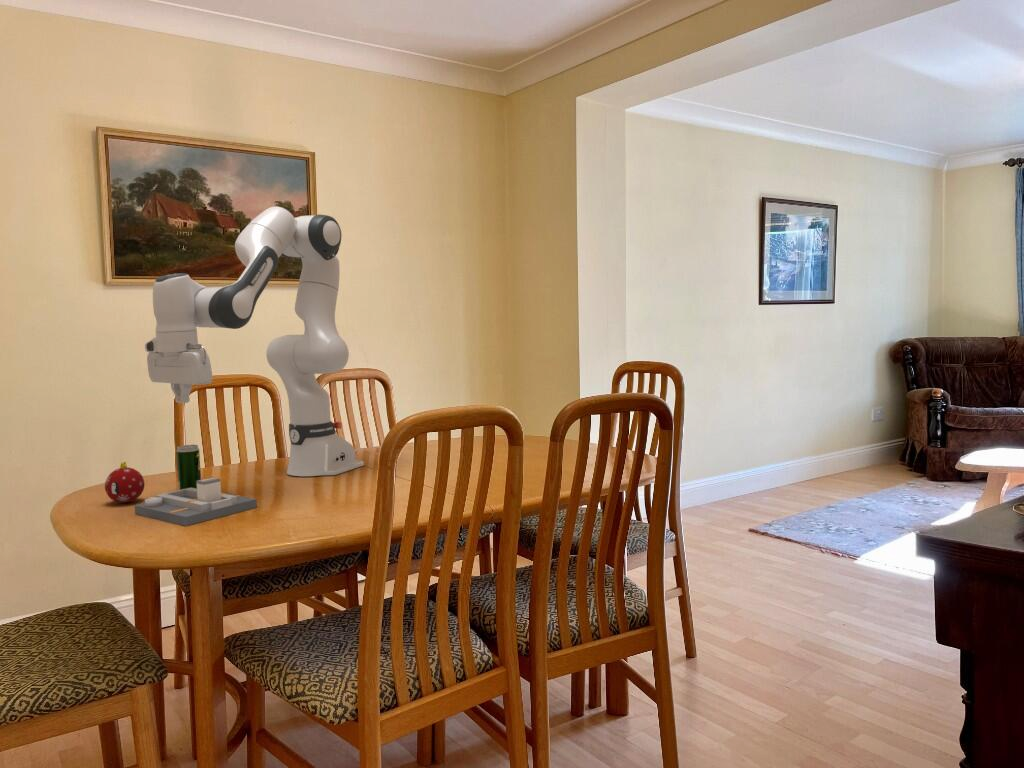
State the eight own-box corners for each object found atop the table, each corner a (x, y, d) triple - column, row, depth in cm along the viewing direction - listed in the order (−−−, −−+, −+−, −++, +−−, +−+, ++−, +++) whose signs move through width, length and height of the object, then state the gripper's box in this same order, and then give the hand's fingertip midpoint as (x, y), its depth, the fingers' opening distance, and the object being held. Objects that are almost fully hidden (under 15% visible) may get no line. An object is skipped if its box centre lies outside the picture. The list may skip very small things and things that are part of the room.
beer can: (181, 496, 190) (178, 448, 189) (177, 492, 194) (174, 446, 193) (204, 493, 193) (201, 446, 192) (199, 489, 197) (196, 443, 196)
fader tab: (213, 501, 175) (212, 476, 174) (221, 502, 173) (220, 478, 172) (197, 505, 171) (196, 480, 171) (205, 506, 170) (204, 481, 169)
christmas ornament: (153, 498, 189) (150, 458, 188) (130, 507, 180) (127, 465, 179) (121, 498, 190) (118, 458, 189) (97, 506, 181) (94, 465, 180)
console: (205, 497, 188) (204, 482, 188) (257, 507, 177) (256, 491, 177) (135, 514, 174) (134, 498, 173) (186, 526, 162) (185, 509, 162)
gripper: (216, 343, 174) (221, 402, 176) (165, 342, 185) (170, 398, 187) (191, 345, 169) (197, 406, 171) (140, 344, 180) (145, 402, 182)
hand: (182, 402), depth 179 cm, fingers closed
